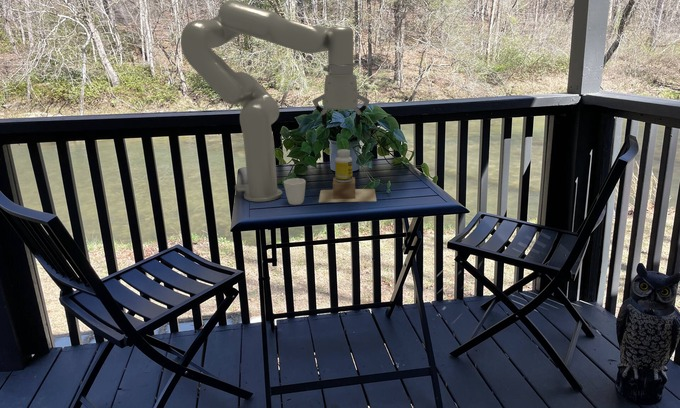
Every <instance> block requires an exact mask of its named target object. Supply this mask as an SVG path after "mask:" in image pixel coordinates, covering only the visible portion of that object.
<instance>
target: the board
mask: <svg viewBox="0 0 680 408" xmlns="http://www.w3.org/2000/svg"><path fill="white" fill-rule="evenodd" d="M354 202H355V203H356V202H357V203H362V202H377V196H376V189H375V188H355V199H333V189H321V190H320V193H319V198H318V203H354Z"/></svg>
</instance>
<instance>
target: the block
mask: <svg viewBox="0 0 680 408" xmlns="http://www.w3.org/2000/svg"><path fill="white" fill-rule="evenodd" d="M332 180H333V181H332V190H333V199H355V189H356V177H353V176H352V181H350V182H337V181H336V177H333V179H332Z"/></svg>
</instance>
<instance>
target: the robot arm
mask: <svg viewBox="0 0 680 408" xmlns="http://www.w3.org/2000/svg"><path fill="white" fill-rule="evenodd" d="M240 35H245V36H249V37H253V38H255V39H259V40H263V41H265V42H269V43H271V44H275V45H277V46H282V47H284V48H287V49H291V50H294V51H297V52H300V53H305V54H309V55H310V54H311V55H312V54H317V53H322V52H327V65H326V66H323V68H322V70H323V72H327V74H326V75H325V77H324V78H325V79H324V87H323V94H322V95H319V96H318V97H315V98H314V99H312V104H313V106H314V107H315V110H316V111H318V112H319V114H320V115H321V123H322V126H323V128H324V129H326V128H328V114H327V112H328V111H329V110H354V112H355V128H356V129H358V128H359V126H360V125H361V115H362V114H363V112H365V110H366V109H367V107H368V105H369V103H370V99H369V98H367V97H365V96H363V95H361V94H360V93H359V92H358V82H357V81H358V80H357V75H356V74H354V30H353V28H352V27H350V26H332V27H325V26H320V25H319V26H318V25H307V24H303V23H301V22H296V21H293V20H289V19H287V18H285V17H282V16H280V15H279V14H278V13H276V12H274V11H272V10H268V9H264V8H260V7H256V6H254V5H250V4H248V3H246V2H244V1H239V0H229V1H226V2H224V3H222V5H221V6H220V7H219V9H218V15H216V16H214V17H213V18H211V19H197V20H192V21H190V22H188V23H187V24H186V25H185V26H184V28H183V29H182V32H181V36H180V46H181V50H182V53H183V56H184V58H185V60H186V61H187V62H188V64H189V65H190V66H191V67H192V69H194V70H195V72H197V74H198V75H200V77H202V79H203V80H204V81H205V82H206V83H207V85H208V86H210V88H211V89H212V90H214V92H215V93H216V94H217V95H218V96H219V97H220V98H221V99H222V100H223V101H224V102H226V103H227V104H228V105H232V106H234V105H239V104H240V105H241V106H242V108H241V110H240V113H239V124H240V127H241V133H242V138H243V146H244V156H245V158H244V159H245V168H246V178H247V179H246V181H247V183H244V184H235V185H234V190H235V191H237V193H239V192H240V193H241V192H244V193H243V197H244V199H245V200H246V201H249V202H253V203H254V202H259V203H262V202H271V201H275V200H278V199H280V198H281V197H282V196H283V191H282V190H281V189H279V188H278V180H277V169H276V168H277V165H276V152H275V151H276V150H275V140H274V135H273V134H274V133H273V130H272V125H273V124H274V123H275V122H276V121H277V120H278V118H279V116H280V106H279V104H278V102H277V101H276V100H275V99H274V97H273V96H272V95H271V94H270V93H269V92H268V91H267V90H266V89H265V87H263V86H262V84H260V83H259V82H258V80H256V79H255V77H254V76H252V75H251V74H249V73H248V72H244V71H237V72H236V71H235V70H233V69H232V68H231V66H230V65H228V64H227V62H226V61H225V60H224V59H223V58H222V57H221V56H220V55H219V54H217V53H216V52H214V50H213V49H216V48H219V47H221V46H223V45H225V44H227V43H228V42H230V41H232V40H233V39H235V38H237V37H239V36H240ZM321 101H323V106H324V107H323V108H322V106H321V105H320V104H319V102H321ZM359 101H362V102H363V104H362V106H361V107H359V106H358V105H359V103H358V102H359Z"/></svg>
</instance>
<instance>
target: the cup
mask: <svg viewBox="0 0 680 408" xmlns="http://www.w3.org/2000/svg"><path fill="white" fill-rule="evenodd" d="M306 182H307V181H306V179H304V178H299V177H296V178H295V177H293V178H287V179H285V180H283V187H284V191H285V195H286V199H287V202H288V204H289V205H291V206H292V205H293V206H296V205H298V206H299V205H302V204H303V203H304V200H305V193H306V185H307V183H306Z"/></svg>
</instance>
